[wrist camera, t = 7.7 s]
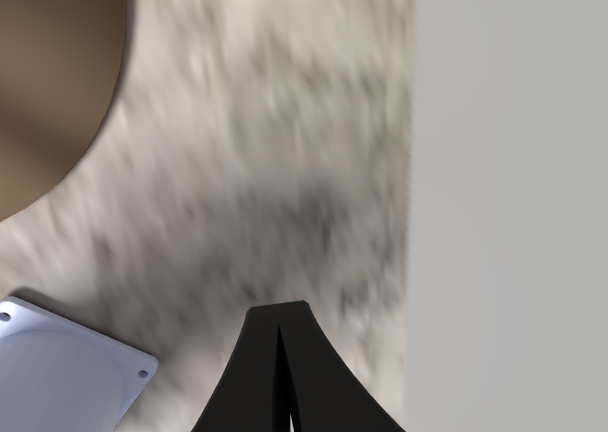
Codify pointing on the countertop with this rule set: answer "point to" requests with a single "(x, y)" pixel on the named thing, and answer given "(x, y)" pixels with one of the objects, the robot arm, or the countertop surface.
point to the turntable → (53, 89)
